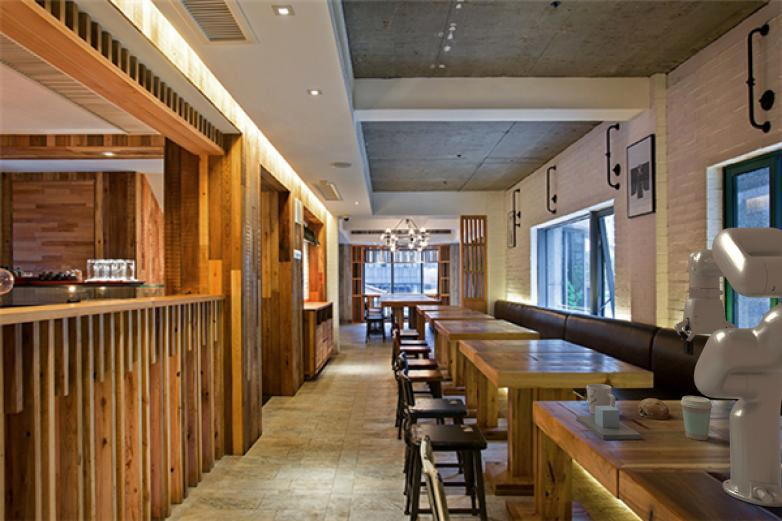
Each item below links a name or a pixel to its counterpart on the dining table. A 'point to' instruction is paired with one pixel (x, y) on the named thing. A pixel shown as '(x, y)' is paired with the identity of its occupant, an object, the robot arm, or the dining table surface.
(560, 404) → the dining table surface
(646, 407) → the bread roll
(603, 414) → the cube
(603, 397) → the mug
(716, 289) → the robot arm
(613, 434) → the board
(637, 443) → the dining table surface
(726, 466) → the dining table surface
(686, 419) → the coffee cup
